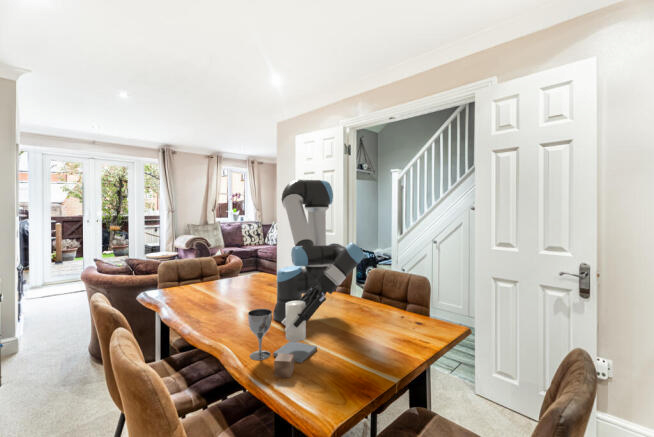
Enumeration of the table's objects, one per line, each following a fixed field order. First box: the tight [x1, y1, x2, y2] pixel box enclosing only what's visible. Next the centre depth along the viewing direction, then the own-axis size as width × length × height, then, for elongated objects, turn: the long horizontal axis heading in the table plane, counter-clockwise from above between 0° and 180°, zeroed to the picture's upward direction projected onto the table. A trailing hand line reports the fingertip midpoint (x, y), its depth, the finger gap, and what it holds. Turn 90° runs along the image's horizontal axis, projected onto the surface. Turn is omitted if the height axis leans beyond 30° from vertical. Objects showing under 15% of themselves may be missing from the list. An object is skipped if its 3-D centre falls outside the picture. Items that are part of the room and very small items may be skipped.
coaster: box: [273, 341, 318, 364], centre depth 108 cm, size 11×11×1 cm
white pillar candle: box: [285, 301, 307, 342], centre depth 108 cm, size 7×7×12 cm
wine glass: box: [247, 308, 273, 361], centre depth 106 cm, size 8×8×15 cm
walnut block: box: [273, 353, 295, 379], centre depth 95 cm, size 5×5×5 cm
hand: (285, 328), depth 107 cm, fingers closed on white pillar candle, 7 cm apart
